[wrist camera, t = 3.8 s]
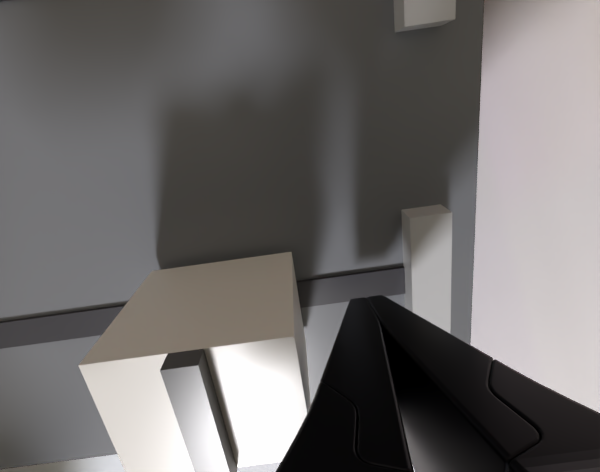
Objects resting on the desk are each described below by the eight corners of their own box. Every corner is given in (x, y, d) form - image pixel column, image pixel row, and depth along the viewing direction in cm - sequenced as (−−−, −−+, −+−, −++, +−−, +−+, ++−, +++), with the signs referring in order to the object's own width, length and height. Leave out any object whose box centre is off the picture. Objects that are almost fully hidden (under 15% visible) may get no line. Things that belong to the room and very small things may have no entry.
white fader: (306, 342, 10) (316, 477, 7) (179, 359, 10) (120, 503, 7) (291, 251, 9) (294, 352, 6) (151, 270, 9) (64, 383, 6)
